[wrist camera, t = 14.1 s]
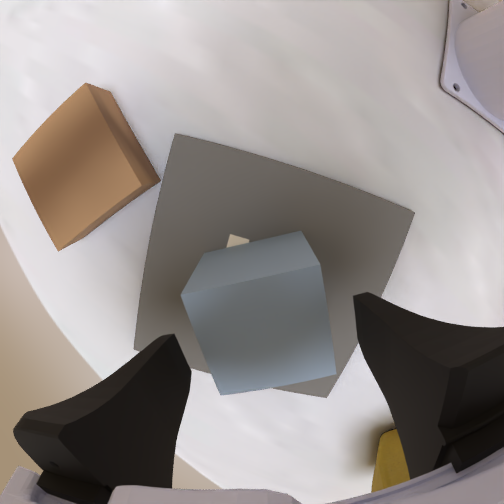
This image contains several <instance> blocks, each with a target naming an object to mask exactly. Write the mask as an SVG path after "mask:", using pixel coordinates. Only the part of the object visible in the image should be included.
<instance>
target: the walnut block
mask: <svg viewBox="0 0 504 504" xmlns="http://www.w3.org/2000/svg"><path fill="white" fill-rule="evenodd" d="M12 159H13V162H14V164H15V166H16V169H17V171H18V174H19V176H20V178H21V180H22V183H23V185H24V187H25V189H26V191H27V193H28V196H29V198H30V200H31V202H32V204H33V206H34V208H35V210H36V212H37V214H38V216H39V218H40V220H41V221H42V223H43V225H44V227H45V229H46V231H47V233H48V234H49V236H50V238H51V240H52V242H53V243H54V245H55V247H56V248H57V250H58V251H60V250H62V249H64V248H65V247H67V246H69V245H71V244H73V243H75V242H77V241H78V240H80V239H82V238H84V237H85V236H86V235H88V234H89V233H90V232H91V231H93V230H94V229H95V228H97V227H98V226H99V225H100V224H102V223H103V222H104V221H106V220H107V219H108V218H110V217H111V216H112V215H114V214H115V213H116V212H118V211H119V210H120V209H122V208H123V207H124V206H126V205H127V204H128V203H130V202H131V201H133V200H134V199H135V198H137V197H138V196H140V195H141V194H142V193H144V192H145V191H147V190H148V189H150V188H151V187H153V186H154V185H155V184H157V183H158V182H160V181H161V180H160V178H159V177H158V175H157V173H156V172H155V170H154V168H153V166H152V165H151V163H150V161H149V160H148V158H147V156H146V154H145V153H144V151H143V149H142V147H141V146H140V144H139V142H138V140H137V139H136V137H135V135H134V133H133V132H132V130H131V128H130V126H129V125H128V123H127V121H126V119H125V117H124V116H123V114H122V112H121V110H120V108H119V107H118V105H117V103H116V101H115V99H114V97H113V96H112V94H111V92H109V91H107V90H104V89H102V88H99V87H96V86H94V85H91V84H88V83H85V84H84V85H82V86H81V87H80V88H79V89H78V90H77V91H76V92H75V93H73V94H72V95H71V96H70V97H69V98H68V99H67V100H66V101H65V102H64V103H63V104H62V105H61V106H60V107H59V108H58V109H57V110H56V111H55V112H54V113H53V114H52V115H51V116H50V117H49V118H48V119H47V120H46V121H45V122H44V123H43V124H42V125H41V126H40V127H39V128H38V129H37V130H36V131H35V133H34V134H33V135H32V136H31V137H30V138H29V139H28V140H27V142H26V143H25V144H24V145H23V146H22V147H21V149H20V150H19V151H18V152H17V153H16V155H15V156H14V157H13V158H12Z"/></svg>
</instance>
